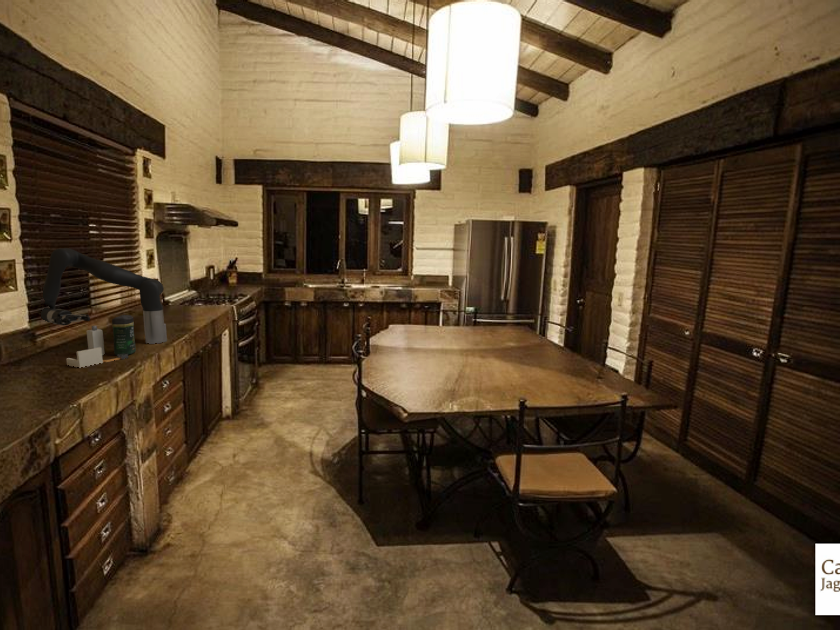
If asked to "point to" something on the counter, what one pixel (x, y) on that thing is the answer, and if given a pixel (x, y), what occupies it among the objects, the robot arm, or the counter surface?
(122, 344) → the coffee jar
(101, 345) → the white square bottle
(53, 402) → the counter surface
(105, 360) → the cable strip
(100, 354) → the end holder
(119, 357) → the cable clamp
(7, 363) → the counter surface
